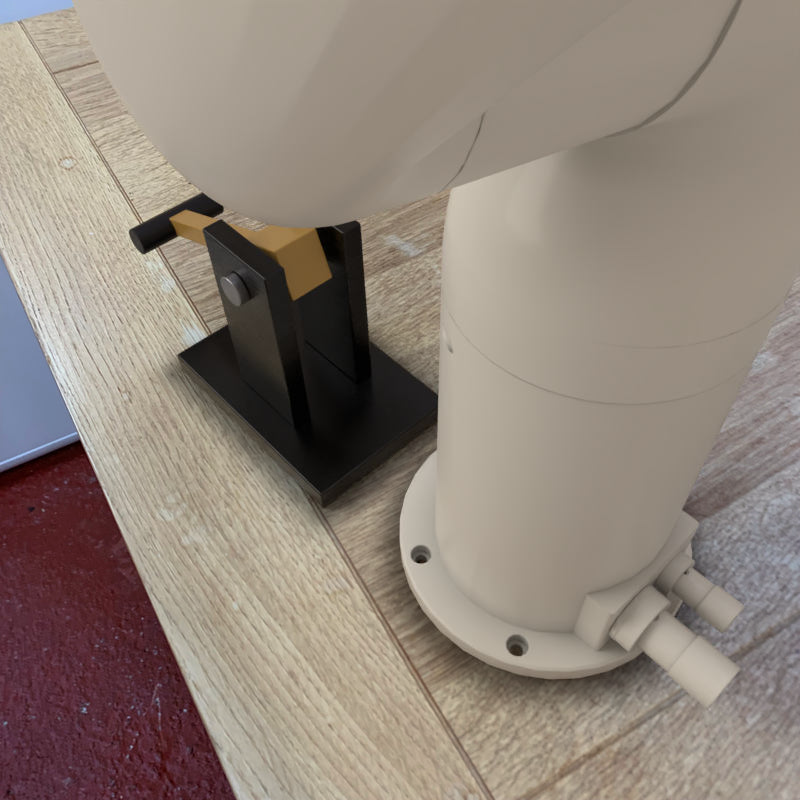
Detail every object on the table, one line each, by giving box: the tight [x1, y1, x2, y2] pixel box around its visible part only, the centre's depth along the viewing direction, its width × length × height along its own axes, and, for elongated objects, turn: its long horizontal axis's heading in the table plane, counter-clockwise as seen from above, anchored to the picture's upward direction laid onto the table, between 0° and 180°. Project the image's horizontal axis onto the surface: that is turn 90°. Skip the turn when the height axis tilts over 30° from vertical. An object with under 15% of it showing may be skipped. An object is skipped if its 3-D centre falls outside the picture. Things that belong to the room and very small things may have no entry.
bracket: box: [176, 218, 438, 509], centre depth 37 cm, size 12×8×11 cm, turn 43°
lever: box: [128, 192, 332, 301], centre depth 38 cm, size 13×5×2 cm, turn 43°
